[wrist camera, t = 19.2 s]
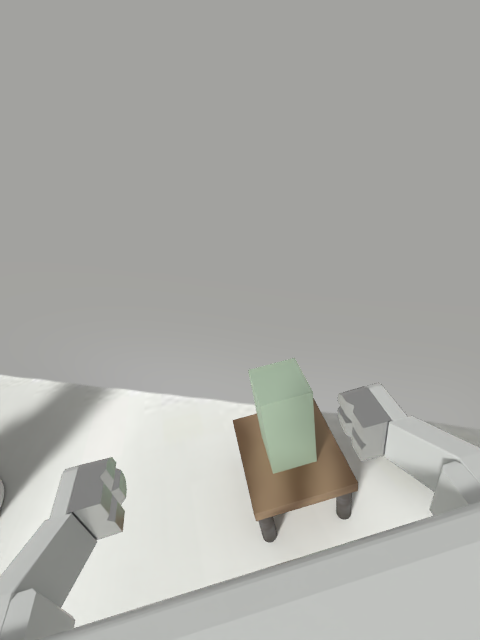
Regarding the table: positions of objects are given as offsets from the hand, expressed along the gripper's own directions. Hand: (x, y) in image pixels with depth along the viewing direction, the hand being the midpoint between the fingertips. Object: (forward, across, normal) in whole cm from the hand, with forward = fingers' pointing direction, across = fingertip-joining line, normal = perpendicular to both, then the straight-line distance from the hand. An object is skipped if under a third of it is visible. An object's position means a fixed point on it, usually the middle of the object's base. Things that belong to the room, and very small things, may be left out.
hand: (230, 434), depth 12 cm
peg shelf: (+15, -5, +32) cm, 36 cm away
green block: (+15, -5, +24) cm, 29 cm away
